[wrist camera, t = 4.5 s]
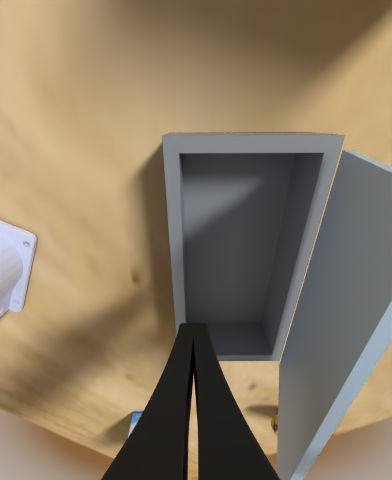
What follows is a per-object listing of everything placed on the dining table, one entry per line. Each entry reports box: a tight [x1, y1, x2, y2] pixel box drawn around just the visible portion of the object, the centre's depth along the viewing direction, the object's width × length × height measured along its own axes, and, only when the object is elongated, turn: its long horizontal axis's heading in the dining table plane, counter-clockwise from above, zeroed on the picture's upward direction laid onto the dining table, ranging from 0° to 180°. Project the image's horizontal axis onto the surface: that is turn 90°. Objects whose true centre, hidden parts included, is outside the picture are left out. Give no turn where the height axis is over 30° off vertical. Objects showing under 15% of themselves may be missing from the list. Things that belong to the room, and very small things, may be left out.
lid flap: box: [277, 150, 392, 480], centre depth 11 cm, size 8×17×1 cm
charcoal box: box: [162, 132, 345, 361], centre depth 17 cm, size 9×18×4 cm, turn 0°
